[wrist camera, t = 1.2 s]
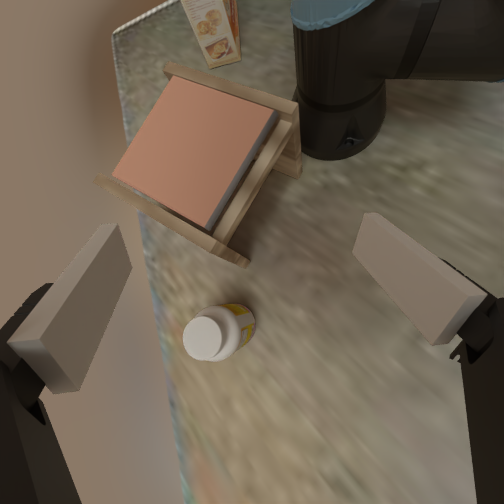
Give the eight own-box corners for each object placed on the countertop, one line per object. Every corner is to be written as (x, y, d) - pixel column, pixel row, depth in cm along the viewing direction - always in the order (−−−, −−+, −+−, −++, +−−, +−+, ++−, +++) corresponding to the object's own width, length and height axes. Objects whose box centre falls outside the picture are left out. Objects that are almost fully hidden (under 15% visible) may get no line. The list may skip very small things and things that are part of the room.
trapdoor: (177, 82, 31) (173, 75, 30) (279, 117, 27) (277, 111, 26) (117, 178, 31) (111, 174, 30) (211, 232, 26) (207, 229, 25)
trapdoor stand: (212, 134, 46) (168, 61, 32) (302, 171, 40) (298, 103, 26) (161, 218, 45) (92, 182, 31) (246, 268, 40) (209, 252, 25)
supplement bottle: (212, 311, 40) (168, 317, 27) (248, 297, 39) (220, 297, 26) (223, 351, 38) (182, 377, 26) (262, 339, 37) (238, 359, 25)
